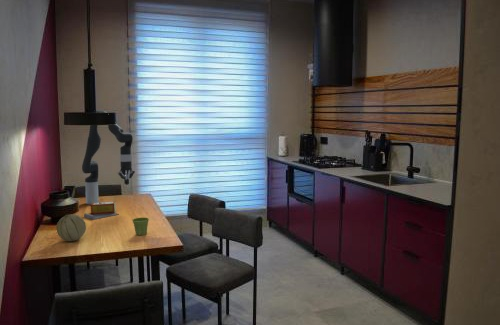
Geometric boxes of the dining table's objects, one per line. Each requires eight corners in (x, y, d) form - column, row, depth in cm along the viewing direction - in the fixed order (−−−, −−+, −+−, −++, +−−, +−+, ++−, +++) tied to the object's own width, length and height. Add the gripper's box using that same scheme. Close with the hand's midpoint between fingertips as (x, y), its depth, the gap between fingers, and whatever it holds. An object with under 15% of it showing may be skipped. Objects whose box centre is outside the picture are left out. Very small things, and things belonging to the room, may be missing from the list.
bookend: (84, 217, 279) (83, 213, 279) (109, 212, 294) (109, 208, 294) (93, 219, 272) (92, 216, 271) (119, 214, 286) (119, 211, 286)
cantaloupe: (92, 237, 231) (90, 211, 229) (75, 245, 217) (74, 217, 215) (68, 236, 234) (67, 210, 233) (51, 243, 220) (49, 216, 219)
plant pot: (141, 237, 231) (140, 222, 231) (129, 235, 236) (128, 220, 235) (153, 233, 240) (152, 218, 239) (140, 231, 244) (140, 216, 243)
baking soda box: (114, 203, 288) (89, 205, 285) (114, 212, 289) (90, 214, 285) (115, 201, 298) (92, 202, 294) (116, 210, 298) (92, 211, 295)
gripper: (131, 159, 302) (132, 182, 304) (114, 161, 293) (115, 185, 295) (136, 160, 297) (137, 184, 299) (120, 161, 288) (121, 186, 290)
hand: (126, 184), depth 297 cm, fingers closed
